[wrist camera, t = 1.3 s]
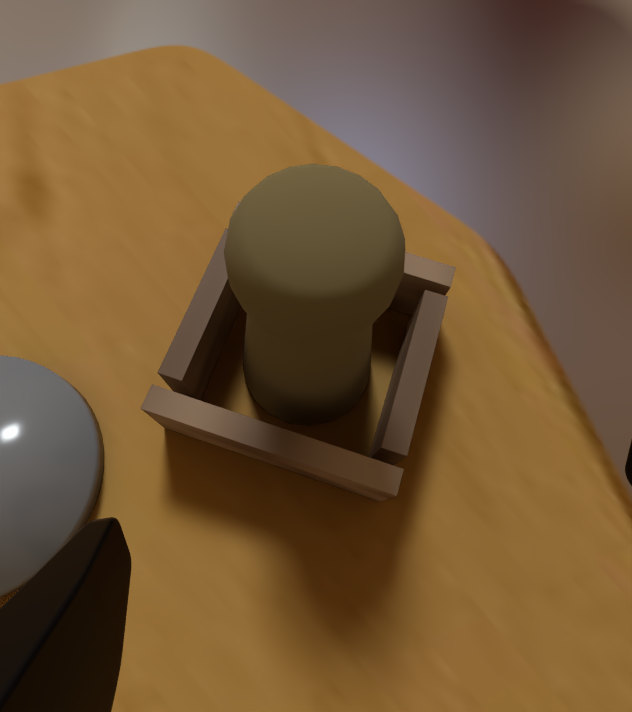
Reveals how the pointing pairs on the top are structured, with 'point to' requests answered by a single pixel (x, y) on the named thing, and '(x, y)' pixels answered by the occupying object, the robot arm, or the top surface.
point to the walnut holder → (280, 446)
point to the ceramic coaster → (43, 467)
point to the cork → (312, 287)
